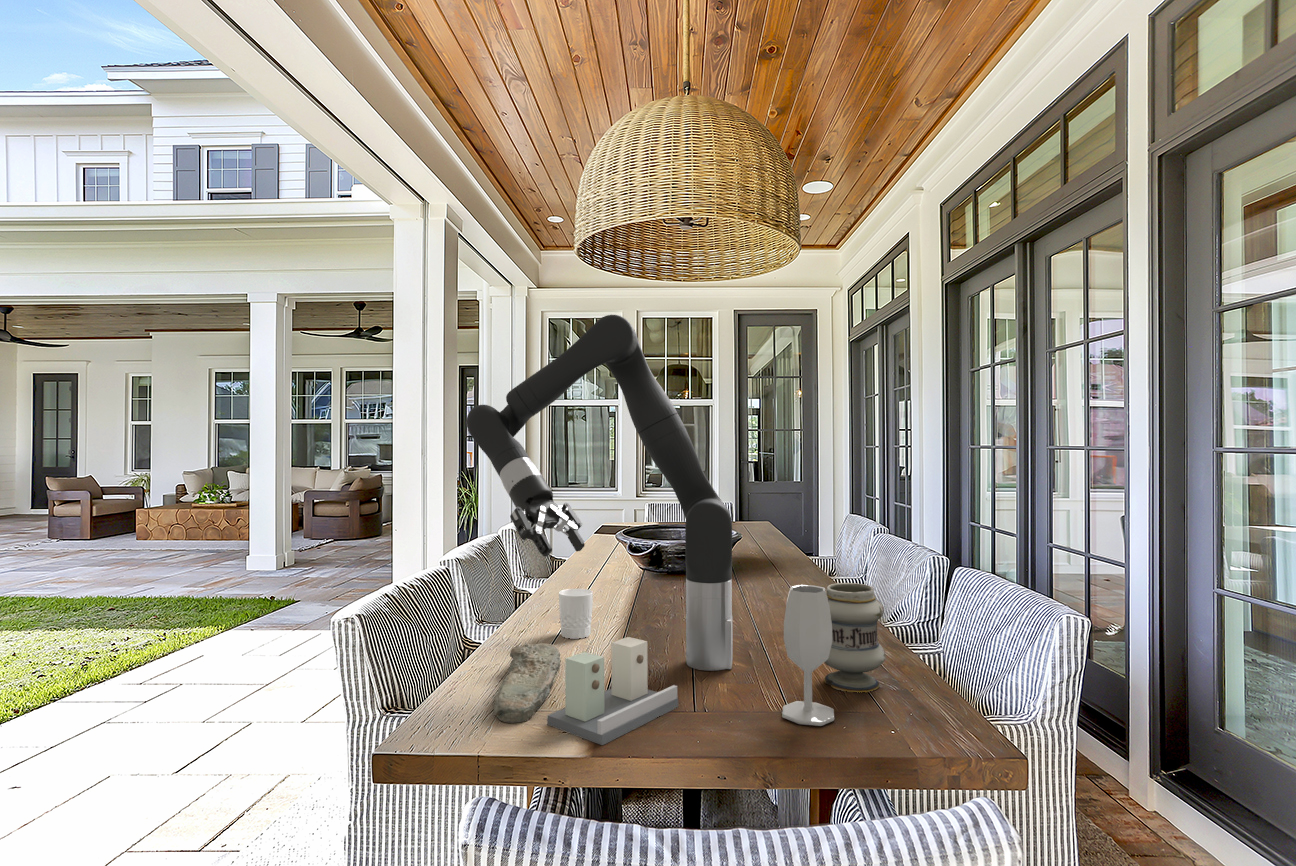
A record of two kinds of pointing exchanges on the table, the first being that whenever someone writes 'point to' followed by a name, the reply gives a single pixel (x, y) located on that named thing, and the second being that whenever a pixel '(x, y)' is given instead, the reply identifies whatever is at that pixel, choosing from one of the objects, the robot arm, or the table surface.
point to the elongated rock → (526, 682)
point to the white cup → (575, 612)
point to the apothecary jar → (854, 637)
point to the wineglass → (808, 648)
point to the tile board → (617, 715)
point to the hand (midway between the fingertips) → (565, 551)
